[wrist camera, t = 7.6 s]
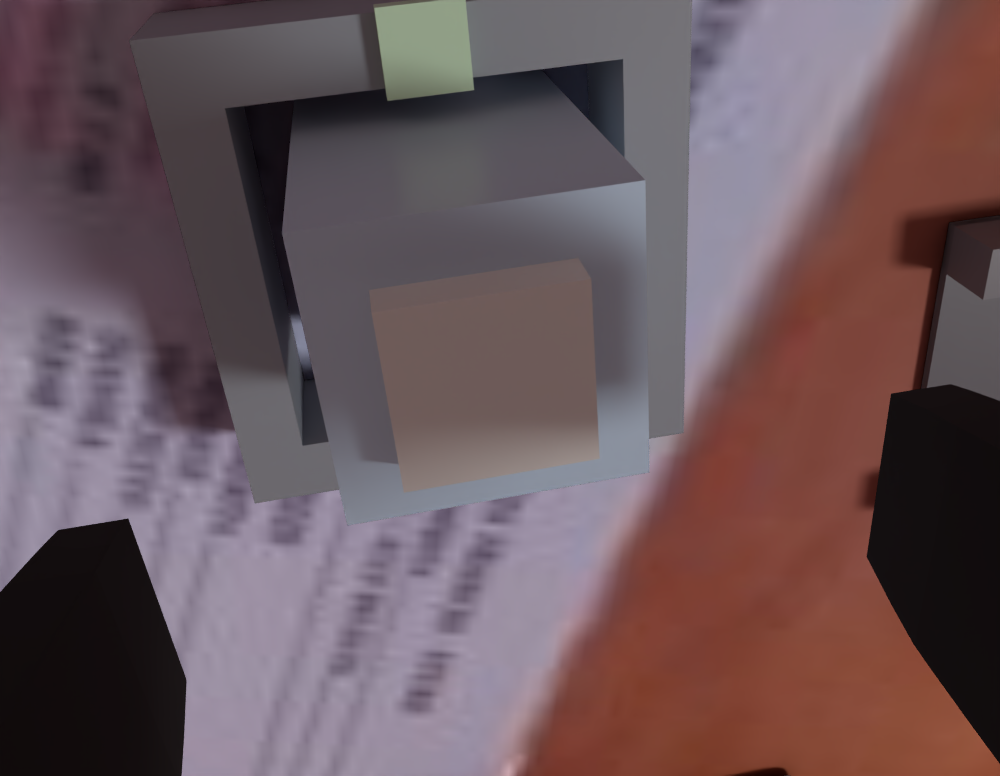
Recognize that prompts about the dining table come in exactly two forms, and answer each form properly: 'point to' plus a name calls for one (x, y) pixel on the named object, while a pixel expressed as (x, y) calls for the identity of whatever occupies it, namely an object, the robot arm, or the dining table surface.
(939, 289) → the grey ridged plate
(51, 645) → the robot arm
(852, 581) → the dining table surface
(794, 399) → the dining table surface
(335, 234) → the plug
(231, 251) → the port
